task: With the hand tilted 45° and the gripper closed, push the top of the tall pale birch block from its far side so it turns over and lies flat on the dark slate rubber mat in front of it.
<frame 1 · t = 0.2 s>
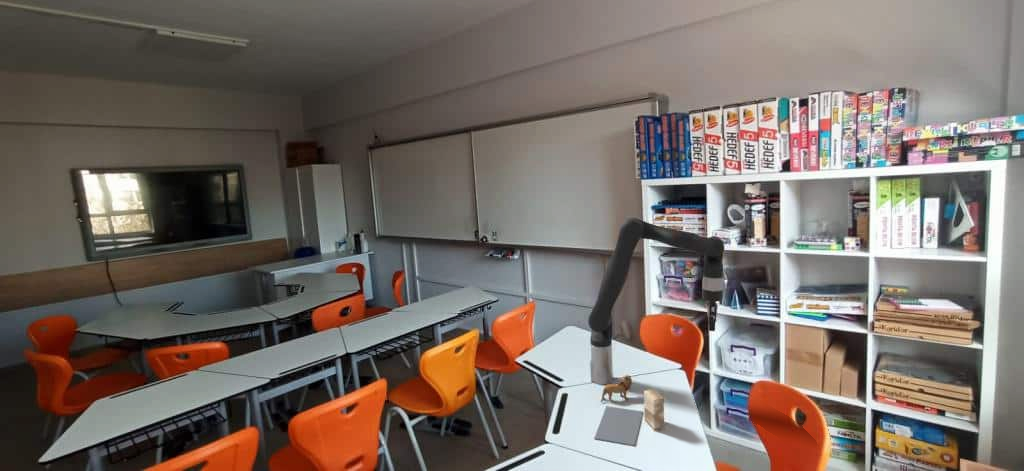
hand: (711, 327, 183), 29 cm above the table, tool pointing down, fingers open, 8 cm apart
lion figurine: (617, 398, 189), on the table
slate mat: (619, 425, 170), on the table
birch block: (654, 424, 169), on the table
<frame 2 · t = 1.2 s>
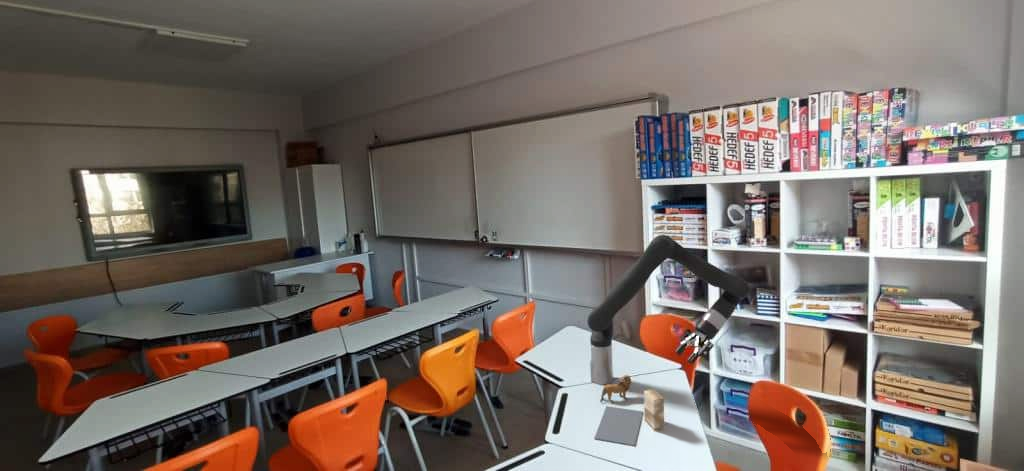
hand: (683, 357, 171), 23 cm above the table, tool tilted 45°, fingers open, 7 cm apart
nothing on the table moved.
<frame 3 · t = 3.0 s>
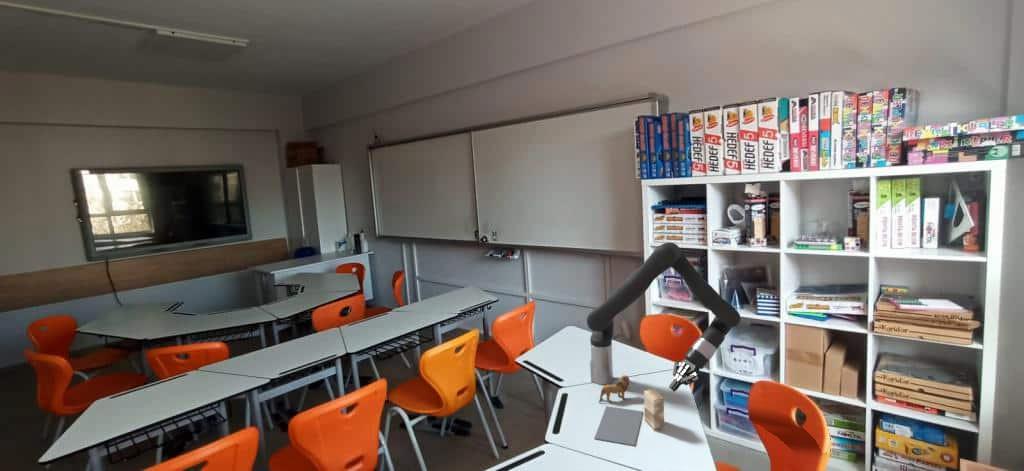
hand: (671, 389, 169), 13 cm above the table, tool tilted 45°, fingers closed
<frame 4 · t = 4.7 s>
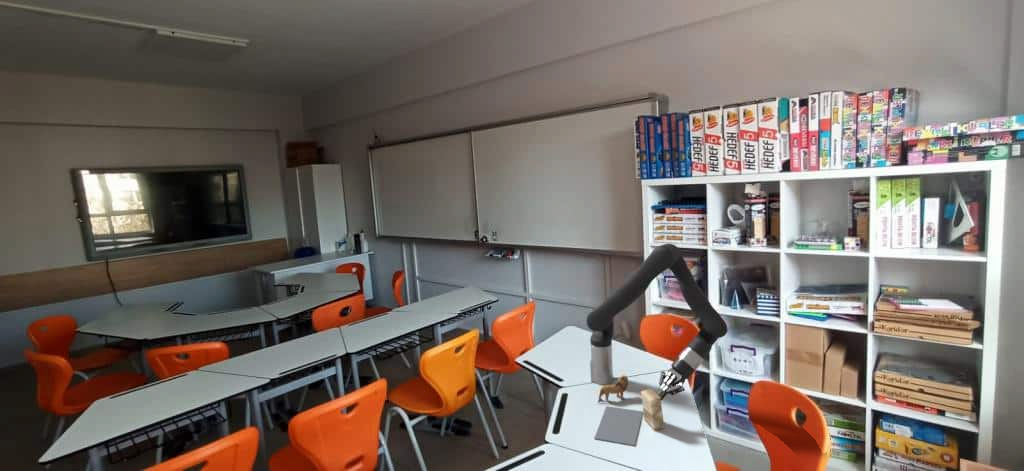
hand: (657, 399, 168), 10 cm above the table, tool tilted 45°, fingers closed
birch block: (654, 424, 169), on the table, tilted 6°, touching gripper
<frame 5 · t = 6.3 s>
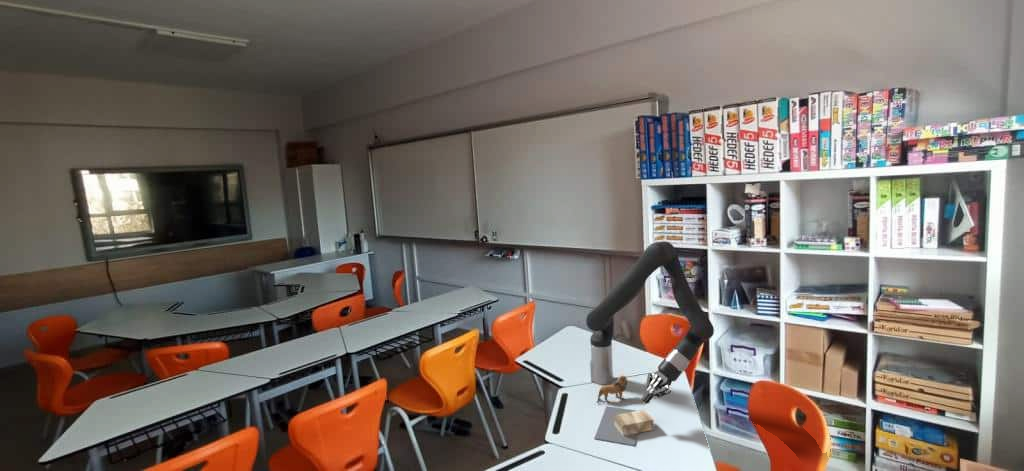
hand: (643, 401, 167), 10 cm above the table, tool tilted 45°, fingers closed
birch block: (648, 419, 169), point 2 cm above the table, tilted 90°, touching slate mat
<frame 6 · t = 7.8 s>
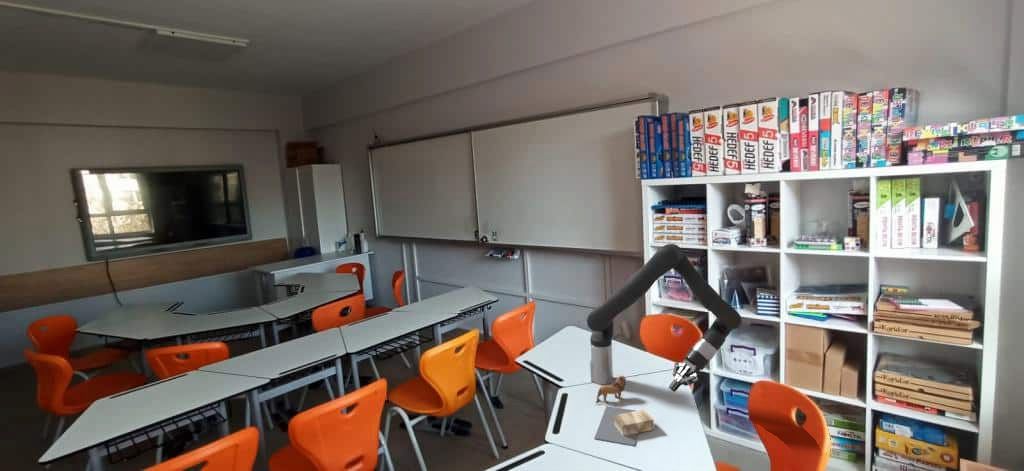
hand: (671, 389, 170), 12 cm above the table, tool tilted 45°, fingers closed
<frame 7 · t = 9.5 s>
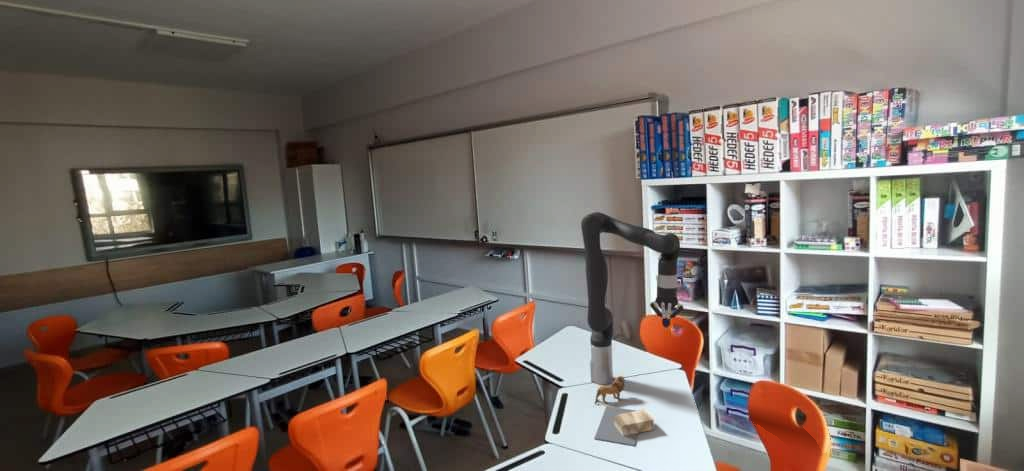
hand: (666, 326, 182), 30 cm above the table, tool pointing down, fingers closed
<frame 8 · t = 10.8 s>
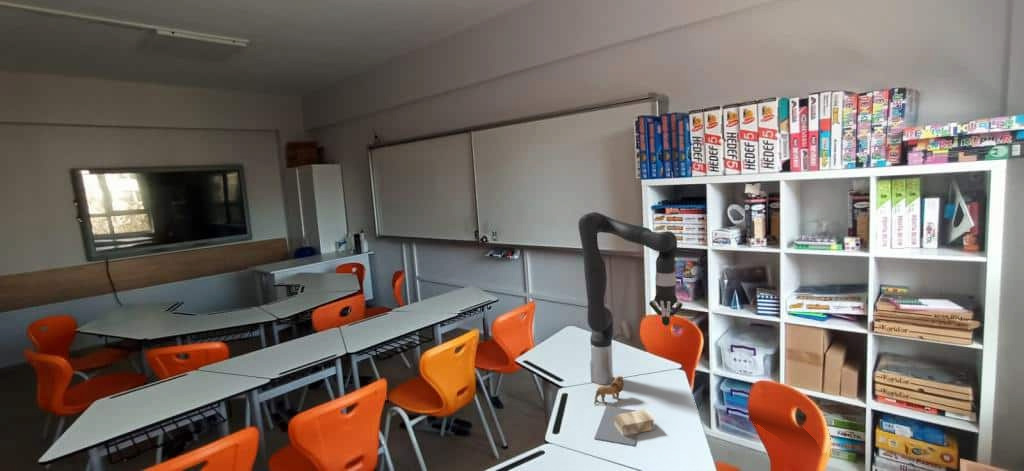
hand: (666, 324, 182), 31 cm above the table, tool pointing down, fingers closed
at the end: birch block tilted 90°; birch block touching slate mat; birch block inside the target area (0.2 cm from its centre), point 2.4 cm above the table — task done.
